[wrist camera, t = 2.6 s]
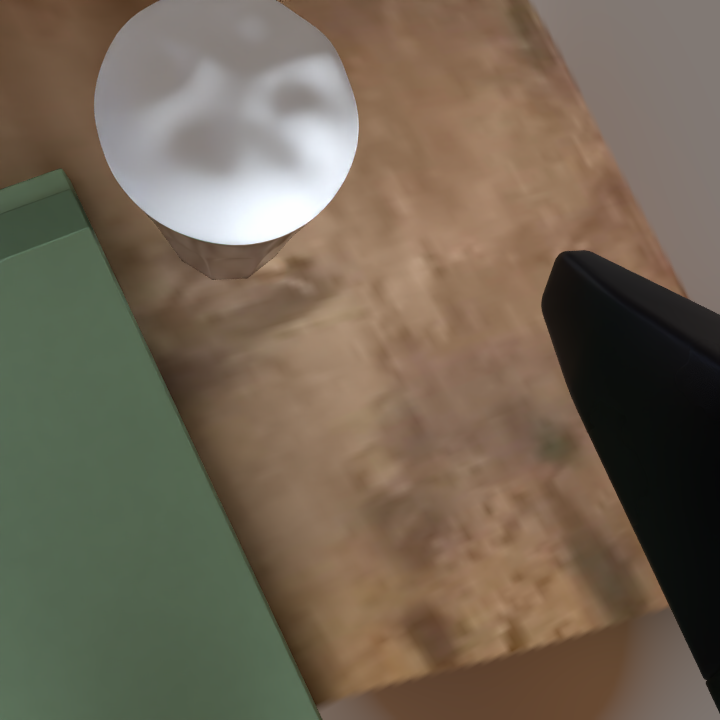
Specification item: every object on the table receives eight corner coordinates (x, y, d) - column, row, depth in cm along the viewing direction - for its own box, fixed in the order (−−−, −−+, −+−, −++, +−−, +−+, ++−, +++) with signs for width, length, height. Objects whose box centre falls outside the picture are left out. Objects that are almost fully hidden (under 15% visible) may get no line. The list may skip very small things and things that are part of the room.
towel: (357, 794, 19) (365, 817, 18) (62, 979, 17) (52, 1016, 16) (69, 179, 18) (60, 166, 17) (-276, 302, 16) (-310, 297, 15)
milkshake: (257, 108, 20) (295, -171, 10) (324, 272, 20) (426, 157, 10) (110, 154, 19) (-8, -106, 9) (182, 326, 19) (143, 257, 9)
